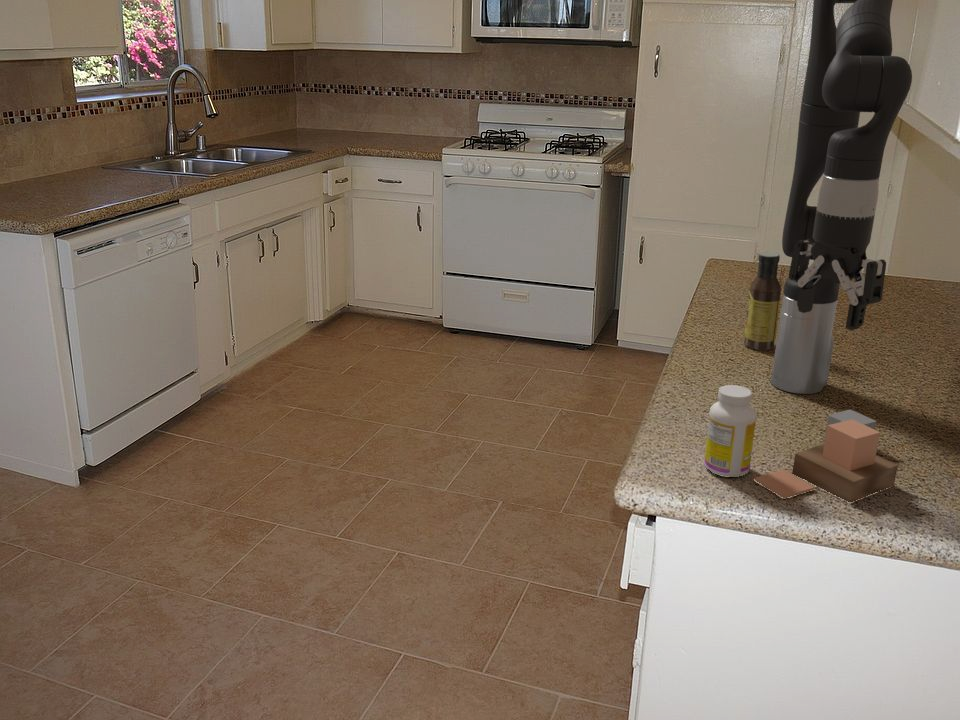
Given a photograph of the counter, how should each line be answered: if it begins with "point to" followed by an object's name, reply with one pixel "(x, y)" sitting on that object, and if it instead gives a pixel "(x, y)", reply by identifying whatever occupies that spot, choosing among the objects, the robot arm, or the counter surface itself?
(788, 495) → the tile
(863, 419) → the grey block
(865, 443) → the terracotta block
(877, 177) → the robot arm
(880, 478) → the walnut block
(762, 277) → the sauce bottle
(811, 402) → the counter surface
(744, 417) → the supplement bottle
